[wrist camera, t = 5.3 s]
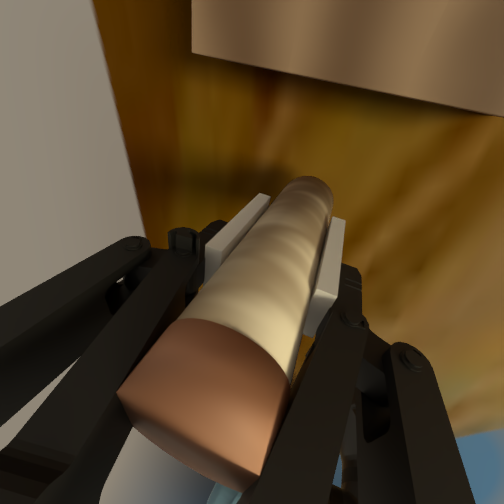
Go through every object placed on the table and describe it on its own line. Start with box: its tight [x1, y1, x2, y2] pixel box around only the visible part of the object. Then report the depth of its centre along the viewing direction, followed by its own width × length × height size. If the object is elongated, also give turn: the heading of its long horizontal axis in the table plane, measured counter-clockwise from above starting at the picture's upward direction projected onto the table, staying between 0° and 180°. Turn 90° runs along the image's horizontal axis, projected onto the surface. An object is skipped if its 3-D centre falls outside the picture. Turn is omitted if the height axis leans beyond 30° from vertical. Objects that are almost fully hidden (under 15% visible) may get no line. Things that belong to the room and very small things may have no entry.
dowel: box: [116, 176, 333, 493], centre depth 11 cm, size 4×4×16 cm
